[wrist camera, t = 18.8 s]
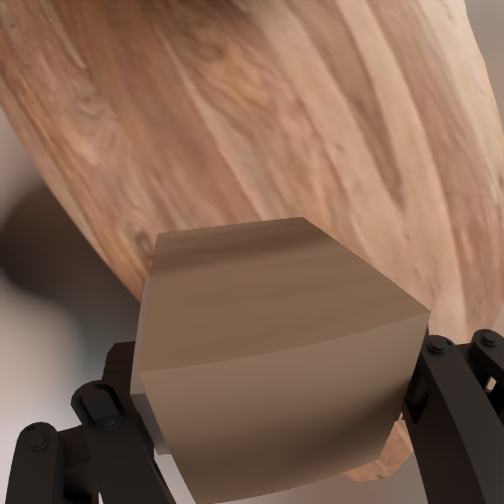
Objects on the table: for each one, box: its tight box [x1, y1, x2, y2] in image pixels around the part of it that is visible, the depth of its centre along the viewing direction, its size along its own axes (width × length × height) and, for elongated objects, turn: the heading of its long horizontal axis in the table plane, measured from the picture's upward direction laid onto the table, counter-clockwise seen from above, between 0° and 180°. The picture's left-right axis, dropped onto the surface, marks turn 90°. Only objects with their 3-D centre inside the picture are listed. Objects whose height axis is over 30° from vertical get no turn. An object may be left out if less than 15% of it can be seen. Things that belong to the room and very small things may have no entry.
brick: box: [138, 217, 431, 504], centre depth 10 cm, size 6×6×8 cm
